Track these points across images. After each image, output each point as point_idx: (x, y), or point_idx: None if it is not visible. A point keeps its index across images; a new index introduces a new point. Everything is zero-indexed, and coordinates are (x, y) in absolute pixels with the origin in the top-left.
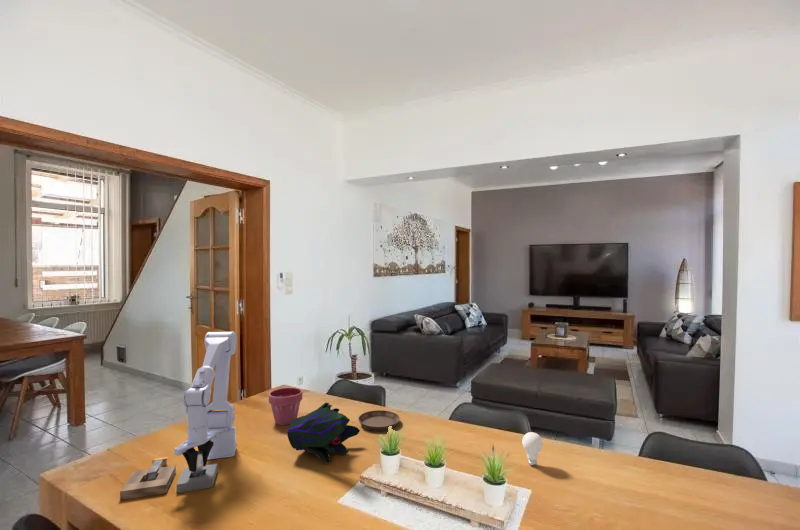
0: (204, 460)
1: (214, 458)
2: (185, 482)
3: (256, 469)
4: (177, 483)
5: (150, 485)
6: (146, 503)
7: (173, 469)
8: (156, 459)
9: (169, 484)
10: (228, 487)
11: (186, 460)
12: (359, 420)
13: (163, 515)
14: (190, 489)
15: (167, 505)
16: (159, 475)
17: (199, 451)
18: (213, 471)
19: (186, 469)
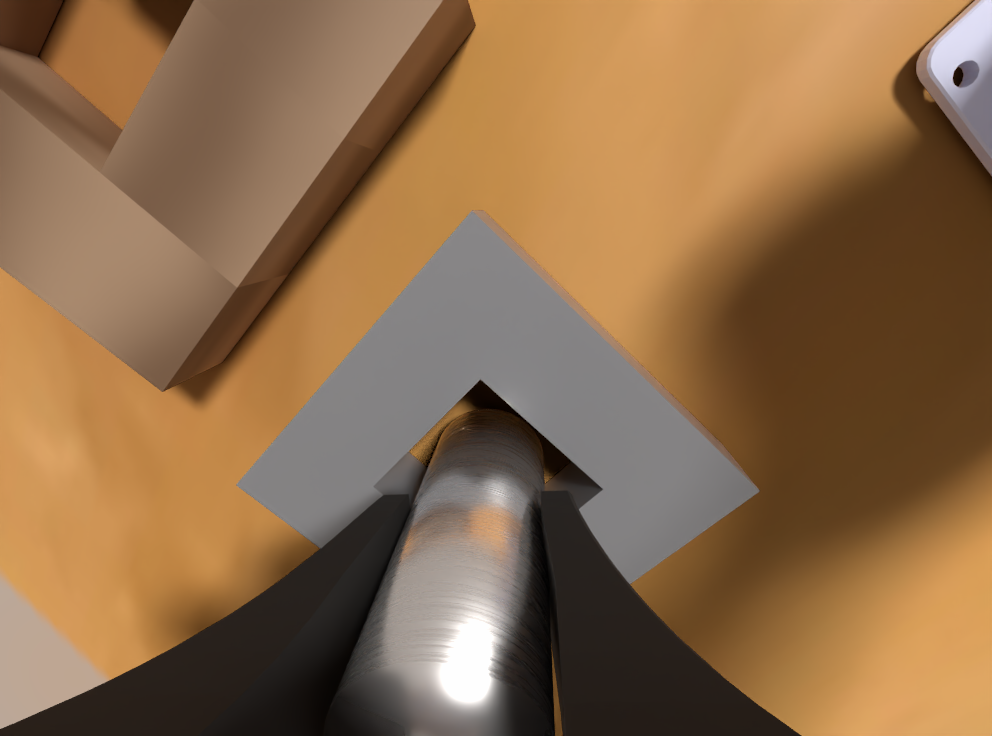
0: (552, 636)
1: (982, 158)
2: (311, 525)
3: (877, 705)
4: (251, 473)
5: (24, 251)
6: (53, 367)
7: (371, 98)
8: None
9: (281, 275)
10: (557, 702)
11: (268, 597)
12: None
13: (111, 601)
14: None
15: (166, 530)
16: (172, 87)
17: (515, 726)
18: None
19: (473, 277)
